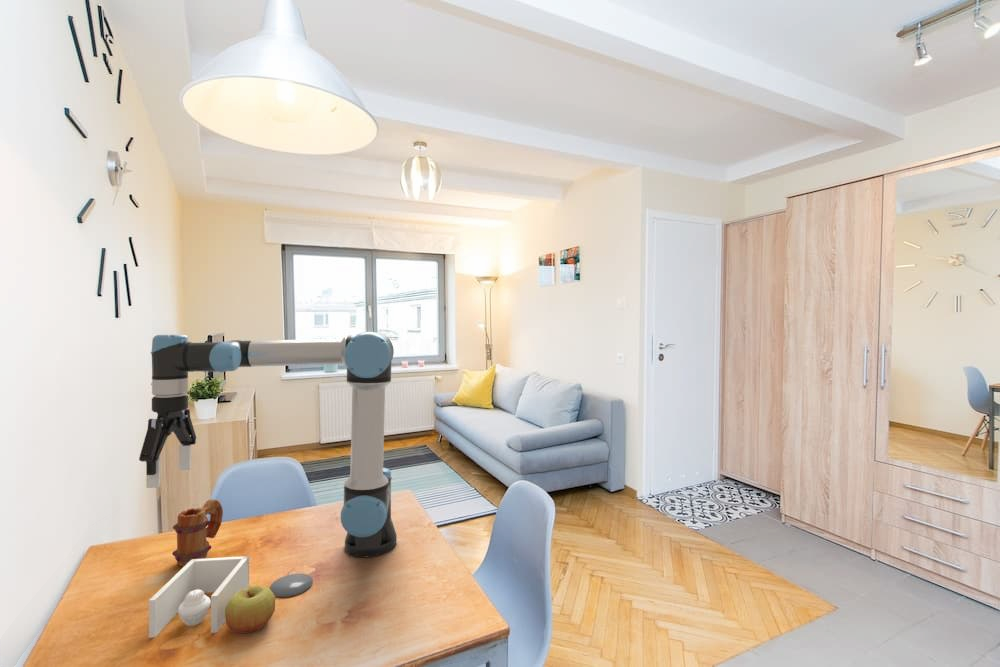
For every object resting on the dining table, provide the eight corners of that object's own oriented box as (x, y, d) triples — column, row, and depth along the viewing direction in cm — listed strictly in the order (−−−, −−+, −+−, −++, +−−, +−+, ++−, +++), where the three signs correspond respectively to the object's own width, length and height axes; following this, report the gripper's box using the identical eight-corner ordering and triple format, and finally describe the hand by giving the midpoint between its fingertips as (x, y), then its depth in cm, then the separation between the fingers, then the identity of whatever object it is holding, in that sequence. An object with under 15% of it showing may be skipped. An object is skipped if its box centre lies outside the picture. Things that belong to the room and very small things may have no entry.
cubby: (249, 587, 116) (249, 556, 116) (217, 632, 99) (217, 595, 99) (191, 591, 114) (191, 559, 114) (148, 637, 97) (148, 600, 97)
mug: (189, 572, 122) (189, 516, 122) (164, 569, 124) (164, 514, 124) (232, 547, 136) (232, 497, 136) (208, 544, 138) (208, 494, 138)
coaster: (316, 574, 122) (316, 572, 122) (306, 596, 112) (306, 594, 112) (277, 576, 121) (277, 574, 121) (263, 599, 111) (263, 596, 111)
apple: (221, 645, 95) (221, 607, 95) (228, 618, 104) (228, 582, 104) (274, 633, 99) (274, 596, 99) (276, 607, 108) (276, 574, 107)
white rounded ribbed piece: (190, 612, 105) (190, 582, 105) (216, 613, 105) (217, 583, 105) (170, 630, 99) (170, 598, 99) (198, 631, 99) (198, 599, 99)
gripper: (181, 388, 129) (181, 463, 129) (119, 403, 104) (120, 496, 104) (210, 388, 129) (210, 463, 130) (155, 403, 105) (155, 495, 105)
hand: (170, 478), depth 117 cm, fingers open, 13 cm apart
